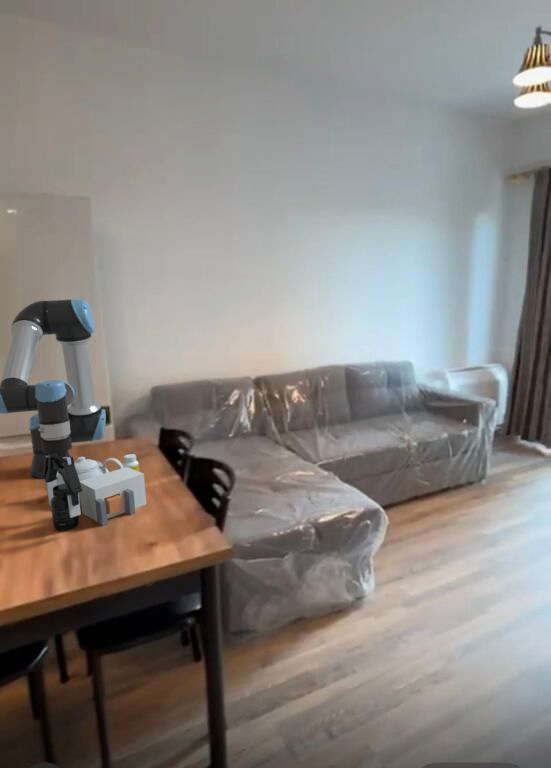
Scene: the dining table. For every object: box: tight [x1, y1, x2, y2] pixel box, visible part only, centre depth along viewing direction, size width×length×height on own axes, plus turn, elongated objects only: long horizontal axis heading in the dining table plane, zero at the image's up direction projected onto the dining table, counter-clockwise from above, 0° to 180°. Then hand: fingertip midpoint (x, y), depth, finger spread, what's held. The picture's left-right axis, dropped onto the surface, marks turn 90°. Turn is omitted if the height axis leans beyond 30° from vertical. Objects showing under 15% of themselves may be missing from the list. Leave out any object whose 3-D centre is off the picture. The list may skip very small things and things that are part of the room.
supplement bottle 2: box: [122, 453, 140, 472], centre depth 169 cm, size 5×5×10 cm
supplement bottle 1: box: [50, 484, 80, 532], centre depth 137 cm, size 7×7×12 cm
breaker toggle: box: [104, 494, 123, 514], centre depth 144 cm, size 8×4×4 cm, turn 47°
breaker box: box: [80, 467, 147, 527], centre depth 147 cm, size 13×16×10 cm
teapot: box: [54, 456, 124, 507], centre depth 158 cm, size 19×18×14 cm
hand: (64, 509), depth 137 cm, fingers open, 13 cm apart
